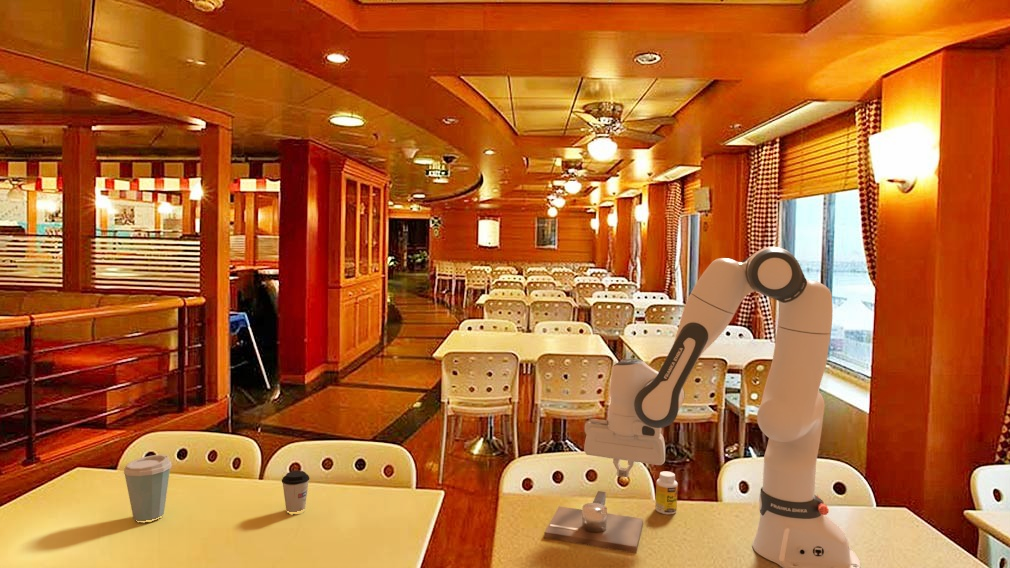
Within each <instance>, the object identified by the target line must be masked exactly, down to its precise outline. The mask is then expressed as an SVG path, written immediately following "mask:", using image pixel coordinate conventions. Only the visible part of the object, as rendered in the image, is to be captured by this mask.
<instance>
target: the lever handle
mask: <svg viewBox="0 0 1010 568" xmlns="http://www.w3.org/2000/svg"><path fill="white" fill-rule="evenodd" d="M606 494H607V492H606V491H602V490H598V491H597V492H596V494H595V497H594V498H593V501H592V502H589V503H588V502H587V503H585V504H583V505H582V508H581V510H582V527H583V528H584V529H585V530H587V531H591V532H602V531H604V530H606V528H607V513H608V507H607V506H606V497H607V496H606Z"/></svg>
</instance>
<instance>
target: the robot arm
mask: <svg viewBox="0 0 1010 568" xmlns="http://www.w3.org/2000/svg"><path fill="white" fill-rule="evenodd" d="M801 267H802V266H801V265H800V263H799V260H797V258H796V257H795V256H794V255H793V254H792V253H791V252H790V251H789V250H787V249H785V248H782V247H780V246H768V247H767V246H766V247H763V248H760V249H759V250H758V251H755V252H754V253H752V254H751V255H750V256H748V257H747V258H745V259H743V260H742V261H737V260H735V259H732V258H726V257H721V258H715V260H713V261H712V262H711V263H709V265H708V266H707V267H706V269H705V270H704V271H703V273H702V274H701V275H700V276H699V279H698V280H697V281H696V284H695V285H694V286H693V289H692V290H691V292H690V294H689V296H688V299H687V300H686V303H685V304H684V308H683V311H682V313H681V317H680V321H679V325H678V328H677V331H676V335H675V338H674V341H673V344H672V346H671V348H670V351H669V352H668V354H667V356H666V358H665V359H664V362H663V364H662V365H661V367H660V369H659V371H657V370H656V369H654V368H653V367H651V366H649V365H648V364H647V363H646V362H645V361H644V360H642V359H639V358H637V359H636V358H631V359H630V358H629V359H624V360H621V361H619V362H617V363H616V364H615V365H614V366H613V367H612V372H611V376H610V385H609V395H610V404H609V407H608V419H596V418H591V419H588V420H586V421H585V423H584V433H585V435H586V436H585V441H584V446H583V447H584V448H583V451H584V453H585V454H586V455H587V456H593V457H600V458H606V459H612V463H613V465H614V467H615V469H616V477H622V478H629V477H630V471H631V469H632V468H633V467H634V464H635V462H636V463H642V464H648V465H656V466H662V465H663V464H664V463H665V461H666V444H665V438H664V436H663V434H662V428H666V427H668V426H670V425H672V424H673V423H674V422H675V420H676V418H677V417H678V413H679V411H680V408H681V407H682V405H683V402H684V401H685V393H686V392H685V389H684V386H685V383H686V381H687V380H688V378H689V376H690V374H691V372H692V370H693V369H694V367H695V365H696V363H697V362H698V360H699V359H700V357H701V356H702V355H703V353H705V352H706V350H707V349H708V348H709V347H710V346H712V344H713V343H715V341H716V340H717V339H718V338H719V337H720V336H721V335H722V333H724V331H725V330H726V328H727V327H728V325H729V324H730V322H732V320H733V318H734V316H735V314H736V313H737V311H738V308H739V307H740V305H741V303H742V301H744V299H745V297H747V296H748V295H749V294H751V293H755V292H756V293H757V292H758V293H759V294H761V295H763V296H766V297H768V298H771V299H774V300H776V301H778V305H779V313H778V314H779V317H778V322H777V328H776V335H775V336H776V337H775V341H774V342H775V343H774V348H773V349H774V350H773V356H772V361H771V365H770V368H769V370H768V375H767V378H766V380H765V381H766V382H765V384H764V385H765V386H764V389H763V393H762V398H761V402H760V405H759V406H758V407H759V408H758V411H757V413H756V414H757V415H756V421H757V424H758V427H759V429H760V431H761V432H762V433H763V434H764V435H765V436H766V437H767V438H768V441H767V446H766V449H765V452H764V456H763V473H762V477H763V478H762V486H761V487H760V493H759V500H758V501H759V503H758V510H759V514H760V515H759V520H758V525H757V530H756V532H755V537H754V539H753V541H752V548H753V550H754V551H755V552H756V553H757V554H758V555H759V556H761V557H763V558H765V559H766V560H768V561H771V562H774V564H777V565H779V566H780V567H781V568H861V566H862V565H861V561H860V559H859V556H858V555H857V554H856V552H855V551H853V550H852V549H851V548H850V545H849V540H848V538H847V535H846V533H845V531H844V530H843V529H842V528H841V527H840V525H838V524H837V523H835V522H834V521H833V520H832V519H831V518H830V517H828V516H827V515H828V514H829V513H830V511H829V508H828V506H827V504H826V503H824V501H823V499H821V497H820V496H819V494H817V495H816V494H815V491H816V489H815V487H816V473H817V472H816V471H817V469H816V468H817V461H818V460H817V459H818V455H819V450H820V449H819V448H820V443H821V436H822V431H823V430H822V429H823V423H824V422H823V421H824V413H825V408H826V407H825V399H824V397H823V395H822V393H821V392H820V387H821V383H822V379H823V376H824V374H825V371H826V367H827V361H828V354H829V347H830V340H831V336H832V335H831V334H832V328H833V327H832V325H833V295H832V292H831V290H830V289H829V287H828V286H826V285H825V284H823V283H821V282H818V281H815V280H810V279H807V278H806V276H805V274H804V272H803V270H802V268H801ZM620 461H627V465H628V466H627V467H626V468H625V467H621V466H620Z"/></svg>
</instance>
